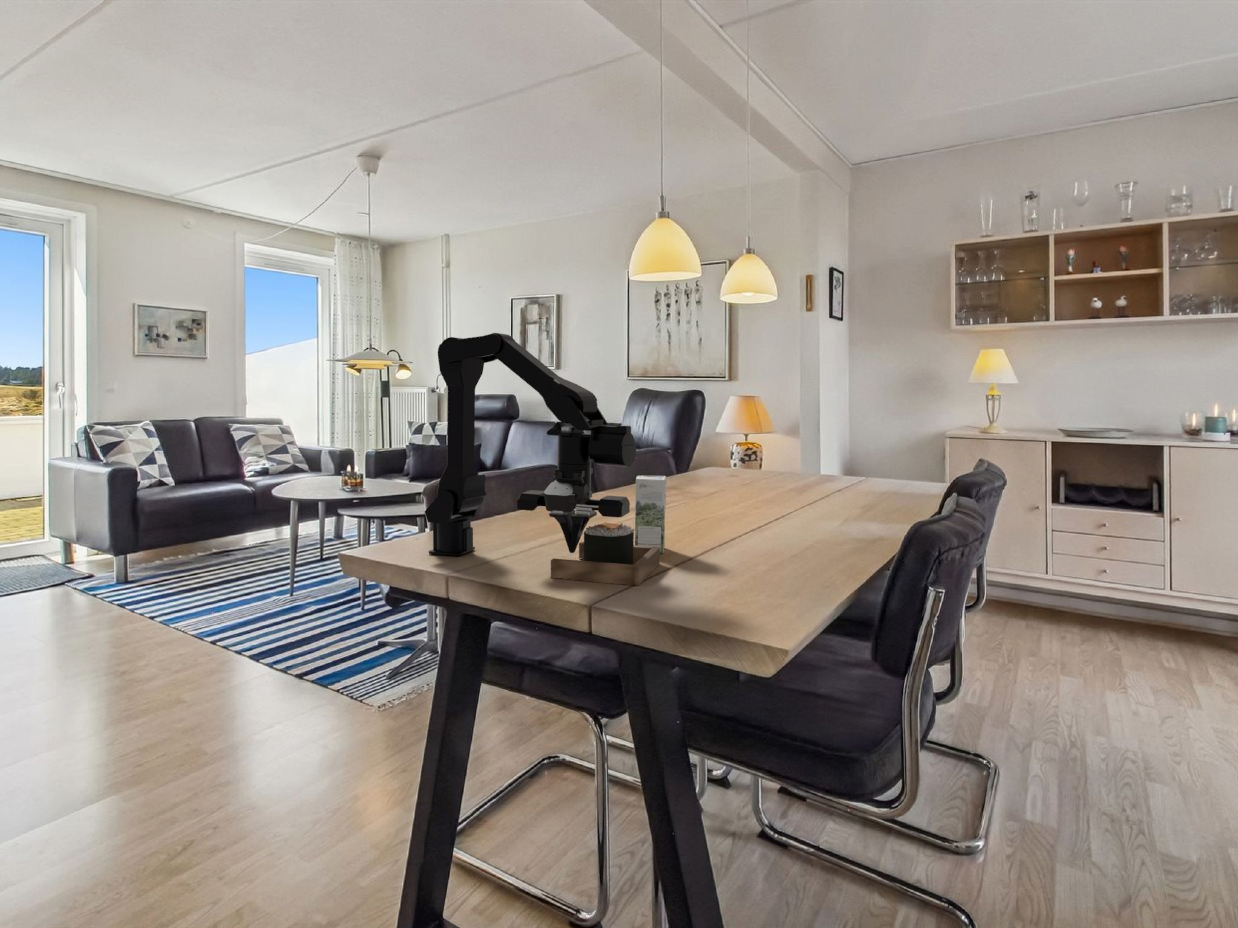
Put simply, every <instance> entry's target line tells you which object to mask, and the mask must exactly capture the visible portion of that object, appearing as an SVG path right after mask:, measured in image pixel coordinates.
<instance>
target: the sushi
mask: <svg viewBox="0 0 1238 928" xmlns="http://www.w3.org/2000/svg"><path fill="white" fill-rule="evenodd" d="M583 542H584V559H583V561H592V562H604V563H617V564H629V565H634V563H633V546H635V528H632V526H628V525H626V524H623V523H620V524H617V523H611V522H602V523H598V524H594V525H592V526H588V527H585V530H584V531H583Z"/></svg>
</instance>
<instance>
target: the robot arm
mask: <svg viewBox="0 0 1238 928" xmlns="http://www.w3.org/2000/svg"><path fill="white" fill-rule="evenodd" d="M437 358H438V359H437V360H438V367H439V373H440V376H442V379H443V381H444V382H445V384H446V385H445V386H446V387H447V417H446V418H447V419H446V420H447V421H446V422H447V425H446V426H447V428H446V431H447V434H446V437H447V438H446V442H447V443H446V449H447V451H446V454H447V455H446V467H445V469H444V470H443V473H442V474H441V476H440V479H439V481H438V487H437V494H436V498H435V499H434V500H433V501H432V502H431V503H430V505H429V506H428V507H427V508H426V509H425V510H424V514H425V517H426V521H427V523H432V548H433V549H431V550H428V554H430V555H442V556H451V557H452V556H453V557H460V556H463V555H466V554H468V553H470V552H472V551H474V550H475V549H476V547H475V546H474V528H473V527H472V525H471V524H472V523H471V521H472V520H471V519H473V518H475V517H476V515H477V513H478V509H479V507H480V506H481V505H482V504H483V501H484V497H486V496H487V493H486V488H485V487H486V481H487V479H486V478H487V477H486V475H485V474H479V473H478V471H477V468H476V466H475V432H476V431H475V425H476V424H475V421H476V419H475V418H476V417H475V416H476V411H475V410H476V409H475V408H476V387H477V385H478V383H479V381H480V379H481V377H482V376H483V373H484V366H485V363H491V362H494V361H496V360H498V361H500V362H501V363H502V364H503V365H504V366H505V367H507V368H508V369H509V370H510V371H512V372H513V373H514V374H515V375H516V376H518V377H519V378H520V379H521V380H523V382H525V383H526V384H528V386H530V387H531V388H532V389H533V390H535V391H536V392H537V393H538V394H539V395H540V396H541V398H542V399H543V401H544V403H545V406H546V407H547V409H548V410H549V411H550V412H551V413H552V414H553V416H554V417H555V418H556V419H557V420H558V421H556V422H555V423H554V424H553V426H552V427H551V428H549V429H548V430H547V431H546V436H557V440H558V441H557V442H558V443H557V444H558V445H557V468H555V469H554V474H553V475H554V477H553V481H552V482H550V484H549V485H548V486H547V487H546V489H544V490H535V489H530V490H526V491H525V492H521V493H520V494H519V495H518V497H517V500H516V502H517V503H516V505H517V507H516V509H517V510H518V511H519V510H520V511H531V512H533V511H535V510H536V509H537V508H538V507H545V510H546V511H548V512H550V513H548V516H549V517H550V518H554V519H555V520H556V521H557V522H558V524H559V527H560V528H561V531H562V534H563V537H564V540H565V542H566V545H567V548H568V552H569V553H570V554H574V553H576V550H577V548H578V546H579V543H580V540H581V537H582V536H583V534H584V532H585V529H586V528H587V527H586V526H587V524H588V523H589V522H590V519H592V518H594V517H596V516H598V513H599V514H600V515H601V516H602V517H606V518H623V517H624V516H626V515H627V514H629V513H630V512H631V511H630V507H631V503H630V500H629V498H628V497H627V496H619V495H606V496H603V497H602V498H600V499H594V498H592V497H593V491H591V484H592V479H591V478H592V477H591V476H592V475H593V473H594V468H593V467H592V460H593V462H594V464H596V465H597V466H611V467H626V468H630V467H631V466H632V465H633V463H634V462H635V458H636V455H637V454H636V453H637V445H636V443H635V437H634V435H633V433H632V426H631V425H609V422H608V421H607V420H606V418H605V416H604V415H603V414H602V412H601V410H600V409H599V408H598V398H597V397H596V395H595V394H594V393H593V392H592V391H590V390H589V389H587V388H584V387H582V386H581V385H579V384H577V383H575V382H572V381H569V380H567V379H565V378H563V377H561V376H559V375H558V374H557V373H555V372H554V371H553V370H552V369H551V368H550V367H548V366H547V365H545V364H544V363H543V362H542V361H540V360H539V359H538V358H537V357H535V356H534V355H533V354H532V353H530V352H529V351H528V350H527V349H525V348H524V347H523V346H522V345H521V344H519V343H518V342H517V341H516V339H514V338H513V336H511V335H509V334H506V333H499V332H492V333H488V334H485V335H482V336H479V335H478V336H473V337H466V338H465V337H464V338H462V337H455V336H450V337H447V338H445V339H443V340H442V342H441V343H440V344H439V346H438V347H437ZM567 424H570V426H567ZM585 431H587V432H585ZM588 431H589V432H590V433H589V432H588Z"/></svg>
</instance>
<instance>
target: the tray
mask: <svg viewBox="0 0 1238 928" xmlns="http://www.w3.org/2000/svg"><path fill="white" fill-rule="evenodd" d="M578 547H579V548H578V560H576V559H566V558H565V559H564V558H555V557H554V558H552V559H551V560H550V578H551V579H555V578H564V579H563V580H567V579H571V580H570V581H578V580H582V581H581V582H589V581H594V582H593V583H600V584H601V583H603V584H612V583H613V585H623V584H626V586H635V587H639V586H640V585H641V584H642V583H643V582H644V581H645V580H646V579H647V578H648V577H649V576H650V575H651V573H652V572H653V571H654V570H656V568H657V567H658V566H659V565H660V562H661V560H660V559H661V557H660V556H661V553H660V547H648V546H635V545H634V546H633V565H629V564H617V563H604V562H592V561H584V541H579V543H578ZM579 558H582V559H581V560H580V559H579Z"/></svg>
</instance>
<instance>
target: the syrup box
mask: <svg viewBox="0 0 1238 928" xmlns="http://www.w3.org/2000/svg"><path fill="white" fill-rule="evenodd" d="M666 496H667V476H666V475H643V474H642V475H637V476H636V478H635V501H634V502H635V505H634V506H635V510H634V515H635V517H634V546H648V547H660V554H664V553H665V546H666V542H665V541H666V539H665V538H666V533H665V532H666V526H665V525H666V502H667V499H666Z"/></svg>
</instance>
